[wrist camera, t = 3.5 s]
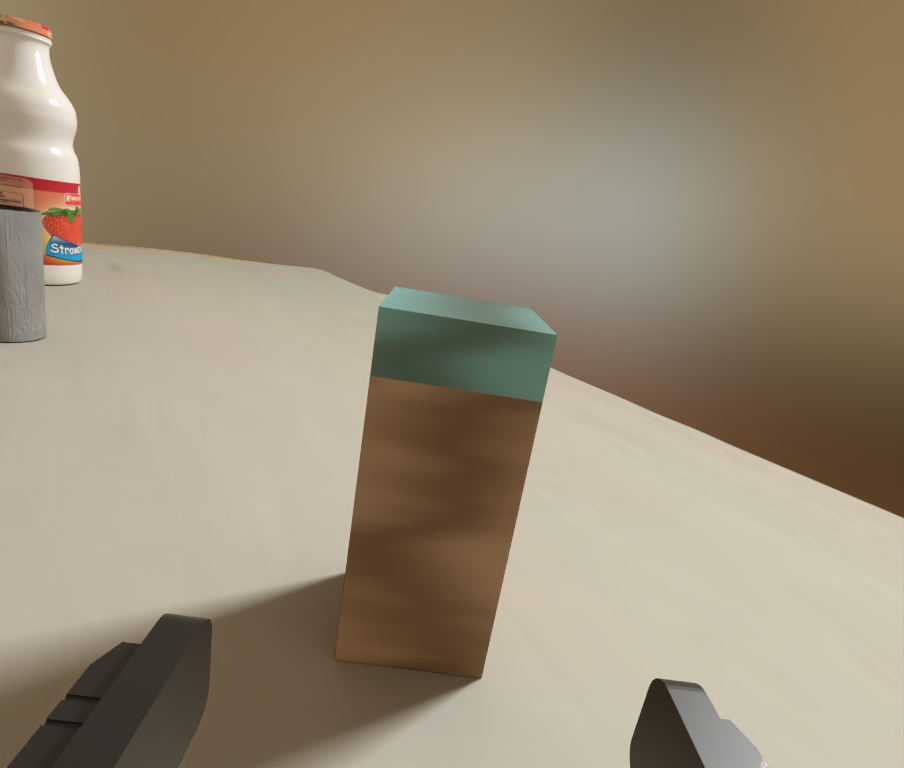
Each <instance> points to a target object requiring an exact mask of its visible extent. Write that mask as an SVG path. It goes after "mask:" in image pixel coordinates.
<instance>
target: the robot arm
mask: <svg viewBox="0 0 904 768" xmlns="http://www.w3.org/2000/svg"><path fill="white" fill-rule="evenodd" d="M211 635H212V624H211V620H210V619H205V618H198V617H190V616H182V615H174V614H165V615H163V616H162V617H161V618H160V619H159V620H158V621H157V623H156V624H155V626H154V627H153V628H152V630H151V631H150V632H149V634H148V635H147V636H146V638H145V639H144V641H143V642H142V643H141V644H134V643H126V642H122V643H121V644H119V645H118V646H116V647H115V648H113V649H112V650H111V651H109V652H108V653H106V654H105V655H103V656H102V657H101V658H99V659H98V660H96V661H95V662H94V663H92V664H91V665H90V666H89V667H88V668H87V669H86V671H85V672H84V673H83V674H82V676H81V677H80V678H79V679H78V681H77V682H76V683H75V684H74V685H73V687H72V688H71V689H70V690H69V692H68V693H67V695H66V698H65V700H61V702H60V703H59V704H58V705H57V706H56V708H55V709H54V710H53V711H52V713H51V714H50V715H49V716H48V718H47V719H46V723H45V724H44V726H42V725H41V726H40V727H39V729H38V730H37V731H36V732H35V734H34V735H33V736H32V737H31V739H30V740H29V741H28V742H27V744H26V745H25V746H24V747H23V748H22V750H21V751H20V752H19V753H18V755H17V756H16V757H15V758H14V760H13V761H12V762H11V763H10V764H9V766H8V767H7V768H178V766H179V764H180V762H181V760H182V758H183V756H184V754H185V752H186V750H187V748H188V746H189V744H190V742H191V740H192V738H193V736H194V734H195V732H196V730H197V727H198V725H199V723H200V720H201V717H202V715H203V712H204V708H205V705H206V701H207V696H208V691H209V677H210V656H211ZM630 768H768V766H767V764H766V763H765V761H764V759H763V758H762V756H761V754H760V753H759V751H758V749H757V748H756V747H755V746H754V745H753V744H752V743H751V742H750V741H749V740H748V739H747V738H746V736H745V735H744V734H743V733H742V732H741V731H740V730H739V729H738V728H737V727H736V726H735V725H734V724H733V723H732V722H731V721H730V720H725V719H720V718H719V716H718V714H717V712H716V710H715V709H714V707H713V705H712V703H711V701H710V700H709V698H708V696H707V694H706V692H705V691H704V689H703V688H702V687H701V686H700V685H698V684H696V683H690V682H682V681H674V680H666V679H658V678H656V679H654V680H653V681H652V682H651V684H650V686H649V689H648V692H647V695H646V698H645V701H644V704H643V707H642V710H641V713H640V716H639V719H638V722H637V725H636V728H635V731H634V734H633V737H632V740H631V745H630Z"/></svg>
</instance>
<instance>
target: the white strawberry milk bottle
mask: <svg viewBox="0 0 904 768" xmlns="http://www.w3.org/2000/svg"><path fill="white" fill-rule="evenodd" d="M50 47H52V33H51V31H50V30H49V29H48V28H45V27H44V26H42V25H39V24H36V23H34V22H31V21H27V20H24V19H20V18H17V17H12V16H8V15H0V204H6V205H13V206H20V207H26V208H32V209H36V210H39V211H40V212H41V221H42V243H43V265H44V285H66V284H74V283H78V282H80V281H81V278H82V236H81V200H80V172H79V163H78V159H77V157H76V155H75V152H74V149H73V139H74V136H75V133H76V129H77V118H76V113H75V110H74V108H73V106H72V104H71V103H70V101H69V100H68V98H67V97H66V96H65V94H64V93H63V92H62V90H61V89H60V87H59V85H58V83H57V80H56V78H55V75H54V72H53V69H52V66H51V62H50V56H49V48H50Z"/></svg>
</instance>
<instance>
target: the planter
mask: <svg viewBox="0 0 904 768" xmlns="http://www.w3.org/2000/svg"><path fill="white" fill-rule="evenodd" d="M45 336H46V309H45V287H44V265H43V243H42V221H41V212H40V211H39V210H36V209H32V208H26V207H20V206H13V205H6V204H0V342H26V341H34V340H39V339H42V338H44V337H45Z"/></svg>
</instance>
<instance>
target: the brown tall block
mask: <svg viewBox="0 0 904 768" xmlns="http://www.w3.org/2000/svg"><path fill="white" fill-rule="evenodd" d="M556 338H557V334H556V333H555V332H554V331H553V330H552V329H551V328H550V327H549V326H548V325H546V323H545V322H544V321H542V320H541V319H540V318H539V317H538V316H537V315H536V314H535V313H534V312H533V311H532V310H531V309H530V308H523V307H517V306H511V305H505V304H499V303H493V302H486V301H480V300H474V299H468V298H462V297H456V296H449V295H443V294H438V293H431V292H425V291H419V290H413V289H407V288H400V287H395V288H394V289H393V290H392V291H391V293H390V294H389V295H388V296H387V297H386V299H385V300H384V301H383V302H382V303H381V305H380V306H379V310H378V318H377V326H376V334H375V342H374V350H373V358H372V366H371V374H370V382H369V390H368V398H367V406H366V414H365V422H364V430H363V438H362V445H361V453H360V461H359V469H358V477H357V485H356V493H355V501H354V509H353V517H352V525H351V533H350V541H349V549H348V557H347V565H346V573H345V581H344V589H343V597H342V605H341V613H340V620H339V628H338V636H337V644H336V652H335V660H339V661H347V662H355V663H363V664H371V665H380V666H388V667H396V668H404V669H412V670H420V671H428V672H436V673H444V674H452V675H460V676H468V677H476V678H482V673H483V669H484V664H485V659H486V655H487V650H488V646H489V641H490V637H491V632H492V628H493V623H494V619H495V614H496V610H497V605H498V601H499V596H500V592H501V587H502V583H503V578H504V574H505V569H506V564H507V560H508V555H509V551H510V546H511V542H512V537H513V533H514V528H515V524H516V519H517V515H518V510H519V506H520V501H521V497H522V492H523V488H524V483H525V479H526V474H527V469H528V465H529V460H530V456H531V451H532V447H533V442H534V438H535V433H536V429H537V424H538V420H539V415H540V411H541V406H542V402H543V397H544V393H545V388H546V384H547V379H548V374H549V370H550V365H551V361H552V356H553V352H554V347H555V343H556Z"/></svg>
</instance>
